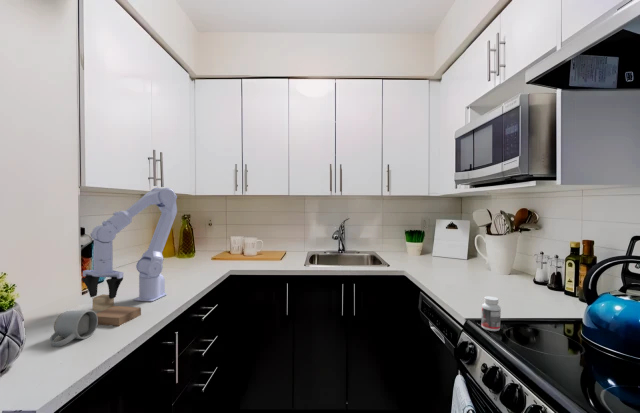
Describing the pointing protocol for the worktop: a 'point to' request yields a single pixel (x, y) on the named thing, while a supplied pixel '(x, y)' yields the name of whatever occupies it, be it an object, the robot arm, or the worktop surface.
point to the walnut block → (118, 315)
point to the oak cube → (102, 302)
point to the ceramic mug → (74, 326)
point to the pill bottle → (491, 314)
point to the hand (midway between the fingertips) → (103, 297)
